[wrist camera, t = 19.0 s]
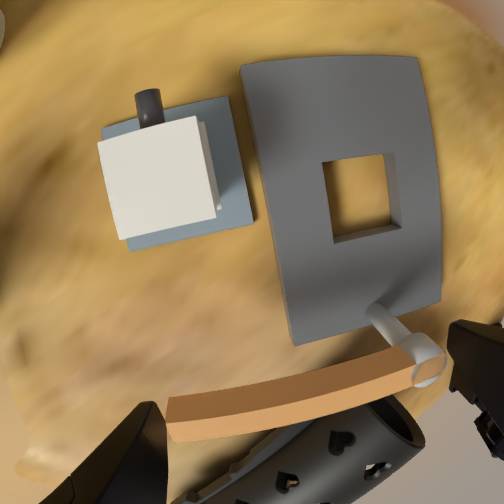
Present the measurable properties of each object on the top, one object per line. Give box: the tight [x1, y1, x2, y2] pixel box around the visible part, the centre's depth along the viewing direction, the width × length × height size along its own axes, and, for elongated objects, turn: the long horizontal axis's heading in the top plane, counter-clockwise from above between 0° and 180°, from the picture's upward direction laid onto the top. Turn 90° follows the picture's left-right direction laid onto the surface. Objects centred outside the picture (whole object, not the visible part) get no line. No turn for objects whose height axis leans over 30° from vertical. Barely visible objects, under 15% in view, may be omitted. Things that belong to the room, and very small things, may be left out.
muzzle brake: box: [171, 394, 425, 504], centre depth 22 cm, size 10×28×10 cm
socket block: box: [239, 55, 442, 347], centre depth 17 cm, size 12×18×6 cm, turn 11°
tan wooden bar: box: [165, 332, 447, 443], centre depth 15 cm, size 2×15×2 cm, turn 100°
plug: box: [97, 89, 222, 240], centre depth 15 cm, size 5×6×6 cm
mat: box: [101, 96, 254, 252], centre depth 19 cm, size 8×8×1 cm
